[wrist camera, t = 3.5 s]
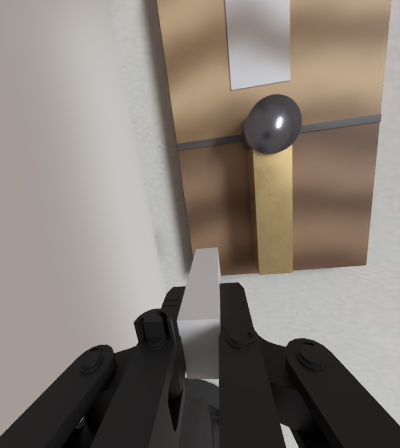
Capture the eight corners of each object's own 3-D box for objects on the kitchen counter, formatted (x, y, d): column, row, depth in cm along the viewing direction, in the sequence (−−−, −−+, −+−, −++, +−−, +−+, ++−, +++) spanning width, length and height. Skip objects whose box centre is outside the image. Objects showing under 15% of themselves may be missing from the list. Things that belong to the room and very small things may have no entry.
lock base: (352, 257, 21) (366, 265, 19) (197, 268, 23) (195, 277, 21) (376, -68, 15) (402, -106, 13) (158, -16, 17) (150, -42, 15)
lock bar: (239, 112, 16) (244, 99, 14) (286, 105, 16) (302, 89, 13) (249, 263, 20) (254, 277, 17) (288, 260, 19) (301, 274, 17)
